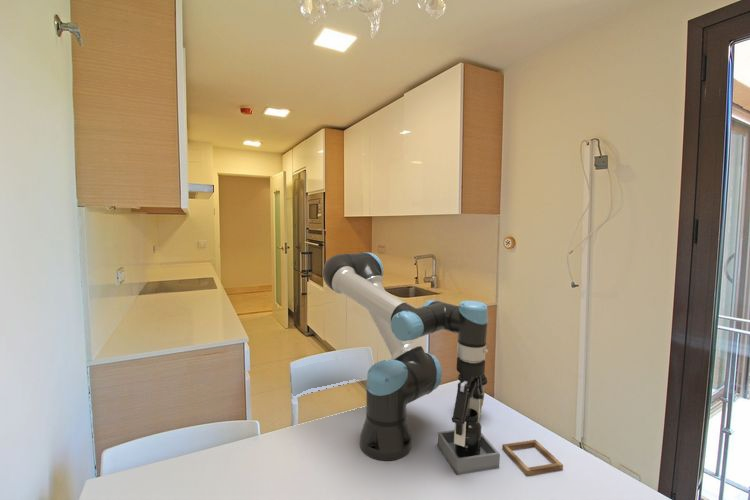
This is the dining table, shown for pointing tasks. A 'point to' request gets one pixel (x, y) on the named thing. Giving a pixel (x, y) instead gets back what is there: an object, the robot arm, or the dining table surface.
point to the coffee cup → (484, 381)
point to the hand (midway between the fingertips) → (467, 431)
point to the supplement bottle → (470, 436)
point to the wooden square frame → (537, 469)
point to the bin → (468, 464)
